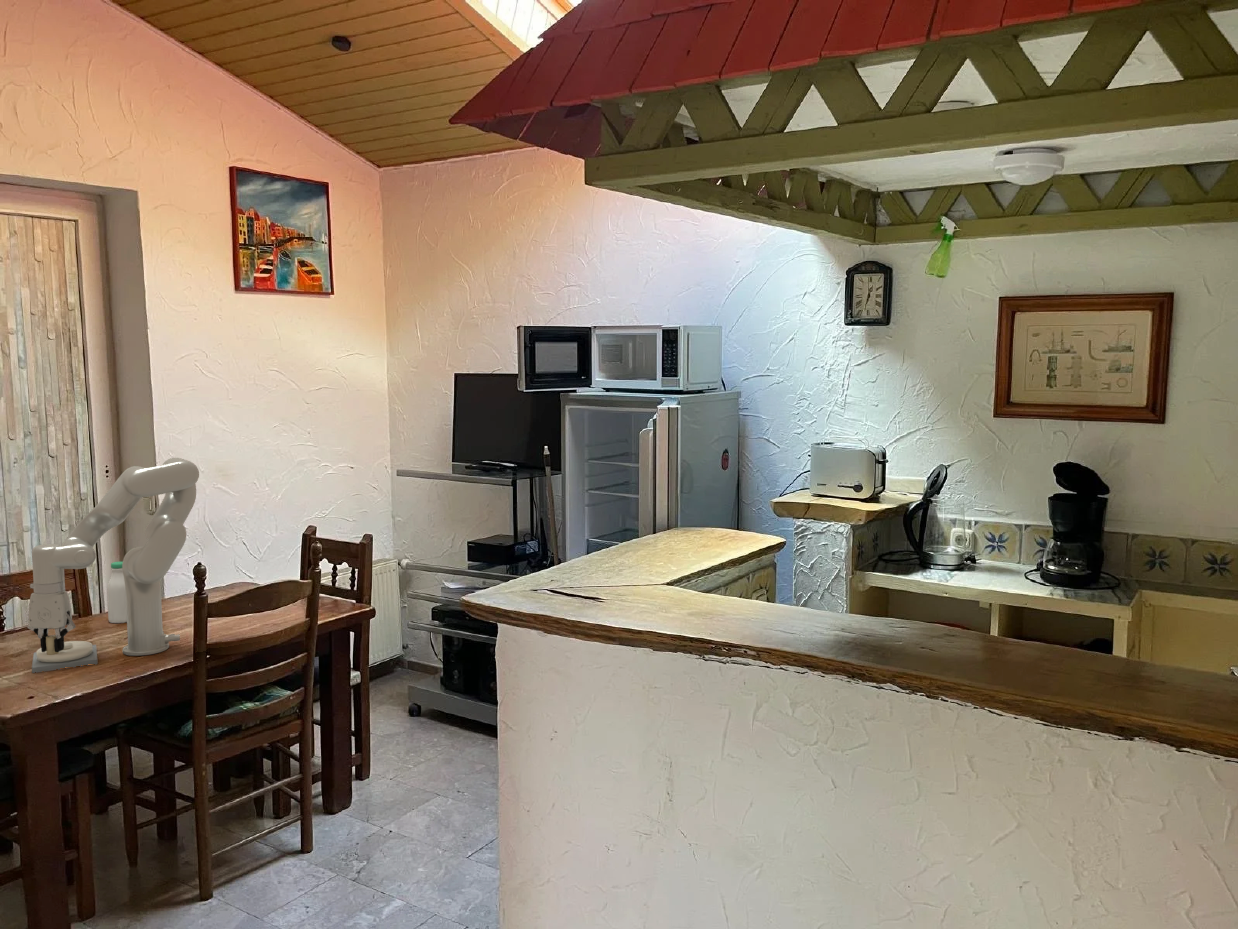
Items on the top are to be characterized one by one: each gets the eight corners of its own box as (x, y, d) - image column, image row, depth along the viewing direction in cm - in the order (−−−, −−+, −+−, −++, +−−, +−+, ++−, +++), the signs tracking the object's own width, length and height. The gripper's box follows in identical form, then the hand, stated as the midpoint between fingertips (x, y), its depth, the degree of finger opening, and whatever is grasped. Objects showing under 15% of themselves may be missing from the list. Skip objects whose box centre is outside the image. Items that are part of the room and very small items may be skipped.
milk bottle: (120, 624, 306) (117, 565, 303) (103, 622, 308) (100, 564, 306) (139, 618, 313) (136, 561, 311) (122, 616, 315) (119, 559, 313)
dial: (28, 656, 266) (26, 632, 265) (78, 644, 278) (77, 622, 277) (50, 665, 258) (48, 641, 257) (101, 653, 270) (100, 630, 269)
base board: (96, 649, 279) (96, 644, 279) (97, 664, 265) (97, 659, 265) (34, 657, 271) (33, 652, 271) (32, 673, 257) (31, 667, 257)
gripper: (12, 590, 257) (15, 654, 259) (70, 591, 257) (73, 655, 259) (29, 584, 265) (32, 646, 266) (85, 585, 264) (88, 647, 266)
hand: (52, 650), depth 263 cm, fingers closed on dial, 3 cm apart
